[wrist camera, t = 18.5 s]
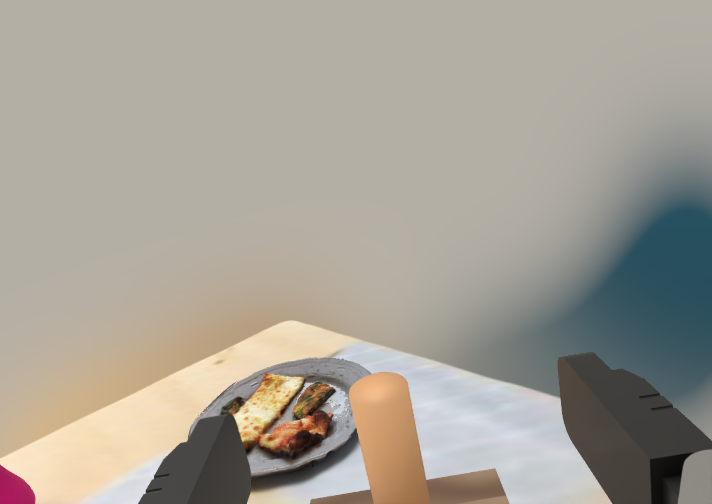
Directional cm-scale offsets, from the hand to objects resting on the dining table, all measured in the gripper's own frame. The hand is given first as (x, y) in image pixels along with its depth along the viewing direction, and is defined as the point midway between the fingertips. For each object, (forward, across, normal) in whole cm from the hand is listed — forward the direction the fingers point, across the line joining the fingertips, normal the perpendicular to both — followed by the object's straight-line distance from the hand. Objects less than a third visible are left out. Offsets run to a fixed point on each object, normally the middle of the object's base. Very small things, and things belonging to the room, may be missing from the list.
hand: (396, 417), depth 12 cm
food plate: (+44, +16, +29) cm, 55 cm away
